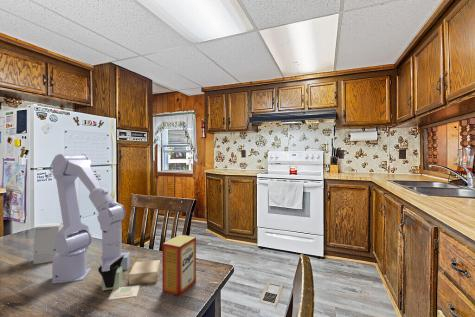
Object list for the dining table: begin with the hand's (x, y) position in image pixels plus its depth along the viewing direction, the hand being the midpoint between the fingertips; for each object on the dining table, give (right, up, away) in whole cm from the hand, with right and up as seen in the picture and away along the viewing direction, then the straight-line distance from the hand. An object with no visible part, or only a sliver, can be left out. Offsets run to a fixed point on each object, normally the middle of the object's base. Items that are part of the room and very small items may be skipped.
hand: (112, 282), depth 78 cm
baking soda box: (+23, -2, 0) cm, 23 cm away
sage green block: (0, -1, 0) cm, 1 cm away
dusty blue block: (-3, -1, +13) cm, 13 cm away
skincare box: (-36, -1, +19) cm, 41 cm away
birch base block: (+9, -2, +6) cm, 11 cm away
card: (+6, -2, -4) cm, 7 cm away
